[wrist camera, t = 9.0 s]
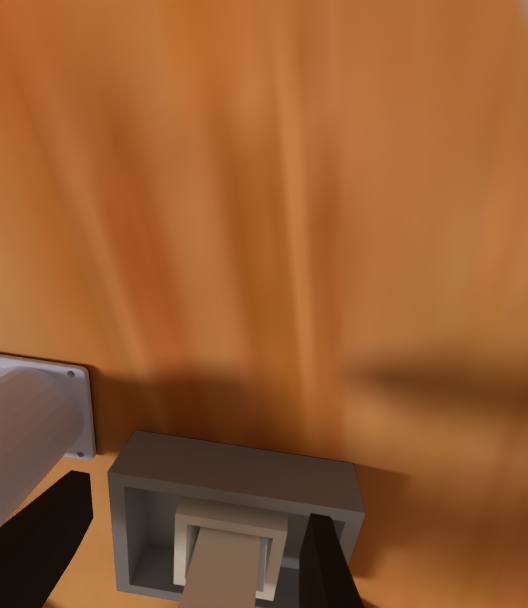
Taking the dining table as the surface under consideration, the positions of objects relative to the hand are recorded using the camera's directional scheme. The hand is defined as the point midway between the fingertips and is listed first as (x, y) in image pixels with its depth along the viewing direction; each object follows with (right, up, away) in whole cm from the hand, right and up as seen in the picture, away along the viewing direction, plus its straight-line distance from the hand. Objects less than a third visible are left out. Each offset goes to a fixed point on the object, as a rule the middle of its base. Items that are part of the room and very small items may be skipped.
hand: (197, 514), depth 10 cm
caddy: (0, -9, +14) cm, 17 cm away
